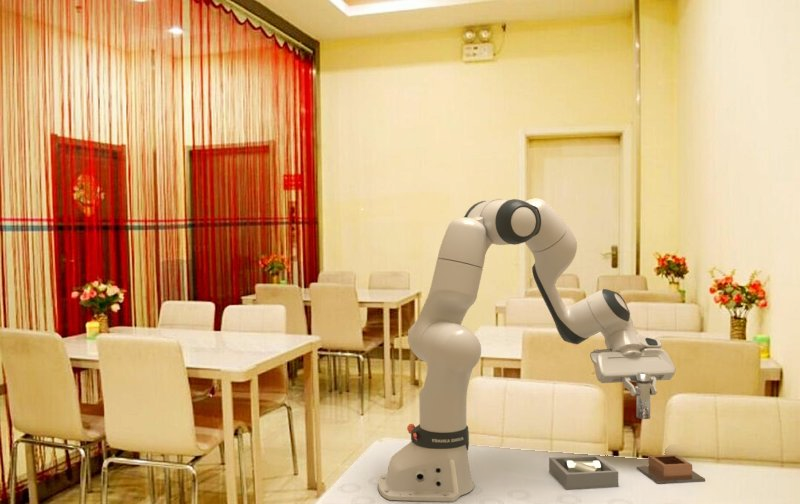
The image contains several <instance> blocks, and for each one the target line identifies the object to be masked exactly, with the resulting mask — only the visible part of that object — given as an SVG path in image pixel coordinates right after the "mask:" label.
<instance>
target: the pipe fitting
mask: <svg viewBox="0 0 800 504" xmlns="http://www.w3.org/2000/svg"><path fill="white" fill-rule="evenodd" d="M565 469H566V470H567V471H568V472H569V473H575V472H593V471H601V465H600V462H599V461H565Z"/></svg>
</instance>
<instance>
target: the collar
mask: <svg viewBox="0 0 800 504" xmlns="http://www.w3.org/2000/svg"><path fill="white" fill-rule="evenodd" d="M647 462H648V465H637V466H636V470H637V471H639V472H640V473H642V474H643V475H644V476H646V477H647V478H649V479H650V480H651V481H652V482H654V483H655V484H656V485H663V484H681V483H698V482H705V481H706V478H705V477H703V476H702V475H700V474H698V473H697V472H696V471H693V464H692V463H690V462H689V461H687V460H686V459H684V458H682V457H680V456H679V455H678V454H662V455H659V454H658V455H648V461H647Z"/></svg>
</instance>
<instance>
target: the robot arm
mask: <svg viewBox="0 0 800 504" xmlns="http://www.w3.org/2000/svg"><path fill="white" fill-rule="evenodd" d="M523 243H525V244H526V246H527V247H528V250H529V251H530V252H531V253H532V255H533V259H534V263H533V266H532V267H531V271H532V272H531V273H532V276H533V279H534V281H535V283H536V284H535V285H536V286H537V289H538V291H539V293H540V296H541V298H542V299H543V301H544V303H545V305H546V307H547V310H548V311H549V314H550V315H551V318H552V320H553V322H554V324H555V328H556V330H557V332H558V335H559V336H560V338H561V339H562V340H563V342H567V343H569V344H573V345H579V344H581V343H583V342H584V341H586V340H588V339H589V338H591V337H592V336H596V335H597V334H599V333H600V334H602V336H603V337H604V344H605V347H606V348H604V349H599V348H598V349H594V350H592V351H591V352H590V355H589V356H590V359H591V363H593V365H594V366H593V367H594V371H595V377H596V379H597V381H598V382H599V383H600V384H612V383H615V384H616V383H622V386H623V387H624V388H626V389H627V390H628V391H629V392H630V395H631V396H632V397H637V396H638V395H639V394H640V391H639V390H638V387H636V386H634V384H632V383H633V382H634V383H636V373H638V372H644V373H649V374H650V396H656V395H657V393H658V389H657V388H656V383H657V382H658V381H671V380H672V378H673V377H674V375H675V373H676V367H675V365H674V362H673V360H672V359H671V356H670V355H669V354H668V352H667V351H666V350H665V349H663V348H662V342H661V340H659V339H657V338H652V337H648V336H644V335H642V334H639V333H638V330H636V329H635V328H634V324H633V319H632V317H631V312H630V309H629V308H628V305H627V303H626V301H625V300H624V298H623V297H622V295H621V294H619V292H616V291H613V290H612V289H608V288H607V289H606V288H603V289H600V290H598V291H596V292H594V293H592V294H590V295H588V296H586V297H584V298H583V299H581V300H579V301H577V302H575V303H572V304H571V305H566V304H564V302H563V300H562V298H561V295H560V293H559V292H558V288H557V287H556V283H557V281H558V279H560V277H561V276H562V274H563V273H564V272H565V271H566V270H567V269H568V268H569V266H570V265H571V264H572V262H573V260H574V259H575V256H576V253H577V250H578V244H577V240H576V238H575V235H574V234H573V232H572V230H571V228H570V227H569V226H568V224H567V223H566V222H565V220H564V219H563V218H562V217H561V215H560V214H559V213H558V212H557V211H556V210H555V209H554V208H553V207H552V206H551V205H550V204H549V203H548V202H547V201H545V200H544V199H542V198H538V197H535V198H534V197H533V198H529V199H528V200H521V199H518V198H517V199H516V198H514V199H513V198H512V199H504V198H503V199H502V198H495V199H489V200H482V201H479V202H477V203H475V204H473V205H472V206H470V207H469V209H468V210H467V211H466V212H465V215H464V216H462V217H457V218H455V219H453V220H452V221H451V222H450V223H448V226H447V228H446V231H445V233H444V236H443V238H442V241H441V244H440V247H439V251H438V255H437V259H436V264H435V267H434V272H433V276H432V280H431V284H430V285H431V286H430V289H429V291H428V294H427V298H426V299H425V302H424V303H423V306H422V308H421V309H420V310H421V311H420V313H419V315H418V317H417V320H416V321H415V322H414V323H413V324H412V325H411V327H409V330H408V333H407V343H408V346H409V348H410V350H411V351H412V353H413V354H414V355H415V357H416V358H418V359H419V360H420V361H422V362H424V363H426V366H427V368H426V370H427V371H426V374H425V380H424V384H423V387H422V388H421V390H419V391H420V392H419V395H418V396H419V397H418V399H419V406H418V408H419V424H417V425H416V426H415V425H414V423H409V424H408V426H407V427H406V429H407V431H408V433H409V434H410V440H411V441H410V442H408V443H407V444H406V445H405V446H403V447H402V448H401V449H400V450H398V451H397V452H395V453H394V454H393V455H392V456H391V458H390V460H389V463H388V467H387V472H386V473H384V474H381V476H380V477H379V478H378V483H377V488H378V492H379V493H380V495H381V496H382V497H383V498H385V499H387V500H390V501H408V502H409V501H414V502H417V501H418V502H454V501H457V500H458V499H459V498H460V497H462V496H464V495H466V494H468V493H470V492H472V491H473V489H474V487H475V484H474V481H473V477H472V473H471V472H472V471H471V467H470V463H469V461H470V460H469V452H468V451H469V447H470V430H469V425H467V394H468V388H469V385H470V384H469V383H470V379H471V375H472V371H473V369H474V368H475V367H476V366H477V364H478V363H479V361H480V359H481V356H482V355H481V354H482V346H481V342H480V340H479V338H478V337H477V336H476V335H475V333H473V332H472V331H471V330H470V329H468V328H467V327H466V326H464V325H462V323H463V321H464V318H465V316H466V314H467V313H468V311H469V310H470V308H471V307H472V305H474V303H475V302H476V301H477V297H478V292H479V289H480V284H481V280H482V279H481V278H482V274H483V270H484V265H485V261H486V260H485V259H486V254H487V252H488V249H489V248H490V247H491V246H492V244H493V245H496V246H497V245H498V246H506V245H508V246H509V245H514V246H515V245H520V244H523Z"/></svg>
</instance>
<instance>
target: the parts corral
mask: <svg viewBox="0 0 800 504" xmlns="http://www.w3.org/2000/svg"><path fill="white" fill-rule="evenodd" d="M548 458H549V460H548V461H549V462H548V463H549V464H548V465H549V467H548V468H549V469H548V471H549V473H550V475H552V476H553V477H554V479H556V480H557V481H558V483H560V484H561V486H563V488H564V489H566V490H584V489H603V488H617V487H619V471H618V470H617V469H615V468H614V467H613V466H612V465H610V464H609V463H608V462H607V461H606V460H604V459H603V458H601V457H600V456H599V455H598V454H594V455H593V454H591V455H575V456H574V455H573V456H553V457H548ZM565 461H599V462H600V465H601V471H593V472H575V473H569V472H568V471H567V470H566V469H565Z"/></svg>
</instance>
